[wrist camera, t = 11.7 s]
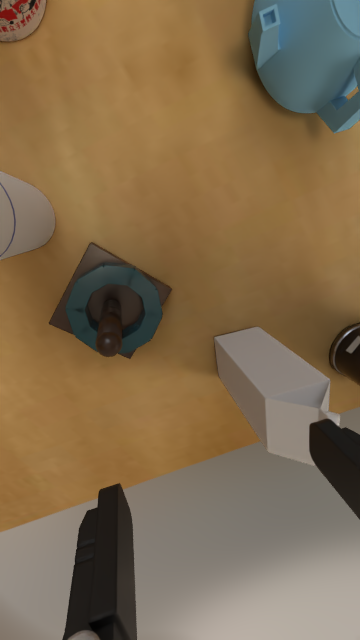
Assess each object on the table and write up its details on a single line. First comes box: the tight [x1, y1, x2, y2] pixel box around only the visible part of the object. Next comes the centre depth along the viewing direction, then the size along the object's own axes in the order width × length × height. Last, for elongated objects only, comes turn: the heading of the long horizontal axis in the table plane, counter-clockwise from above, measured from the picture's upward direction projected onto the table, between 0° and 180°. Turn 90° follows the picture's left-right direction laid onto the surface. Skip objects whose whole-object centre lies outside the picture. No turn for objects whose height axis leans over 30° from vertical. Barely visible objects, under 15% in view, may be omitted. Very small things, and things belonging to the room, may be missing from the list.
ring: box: [65, 262, 163, 354], centre depth 31 cm, size 11×11×3 cm
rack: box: [49, 242, 172, 359], centre depth 28 cm, size 11×11×14 cm
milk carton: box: [214, 326, 340, 473], centre depth 32 cm, size 7×7×19 cm
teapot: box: [248, 0, 360, 133], centre depth 24 cm, size 15×15×11 cm
